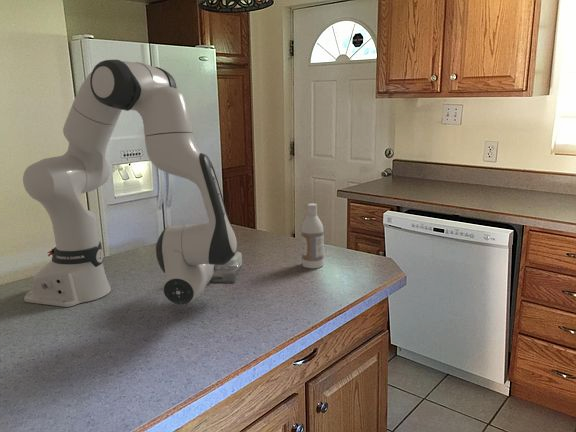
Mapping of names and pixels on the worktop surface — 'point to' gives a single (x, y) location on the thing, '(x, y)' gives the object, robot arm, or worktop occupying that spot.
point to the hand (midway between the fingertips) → (210, 251)
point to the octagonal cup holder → (226, 276)
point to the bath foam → (312, 239)
